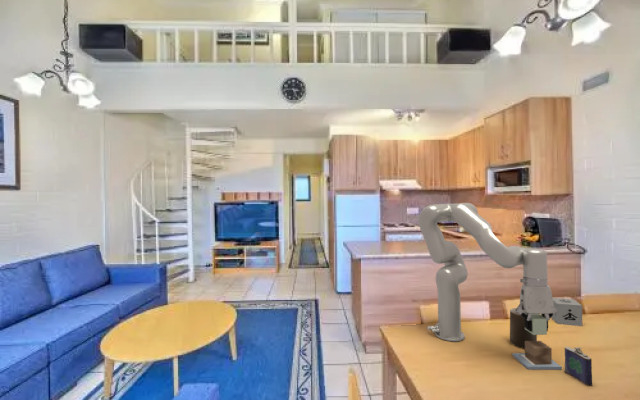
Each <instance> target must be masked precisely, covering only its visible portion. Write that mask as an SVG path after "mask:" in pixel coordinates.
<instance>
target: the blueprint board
mask: <svg viewBox="0 0 640 400" xmlns="http://www.w3.org/2000/svg"><path fill="white" fill-rule="evenodd" d="M511 355H512V357H513V358H514V359H515V360H516V361H518V362H519V364H521V365H522V366H523V367H524V368H525V369H527V370H545V371H546V370H547V371H548V370H552V371H553V370H555V371H556V370H558V371H559V370H563V369H562V368H563V367H562V365H560V364H558V362H555V360H553V359H552V364H550V365H535V364H534V363H532V362H531V361H530V360H529V359H528V358H526V357H525V352H513V353H511Z"/></svg>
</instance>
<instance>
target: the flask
mask: <svg viewBox="0 0 640 400" xmlns="http://www.w3.org/2000/svg"><path fill="white" fill-rule="evenodd" d="M581 349H582V347H580V346H579V347H574V348H572V347H570V346H565V347H564V372H565V373H566V374H567V375H569V376H571V378H573V379H576V380H578V382H581V383H582V384H584V385H585V386H588V387H592V386H593V371H592V369H593V368H592V365H593V364H592V363H593V362H592V361H593V360H592V358H591V357H590V356H588V355H587V354H585V353H584V352H583V350H581Z"/></svg>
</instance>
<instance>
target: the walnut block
mask: <svg viewBox="0 0 640 400" xmlns="http://www.w3.org/2000/svg"><path fill="white" fill-rule="evenodd" d="M552 351H553V350H552V347H550V346H549V345H547V344H546V343H544V342H543V341H541V340H537V341H525V349H524V353H525V357H526V358H528V359H529V360H530V361H531V362H532V363H534V364H535V365H550V364H552V360H553V359H552V353H553V352H552Z"/></svg>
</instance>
